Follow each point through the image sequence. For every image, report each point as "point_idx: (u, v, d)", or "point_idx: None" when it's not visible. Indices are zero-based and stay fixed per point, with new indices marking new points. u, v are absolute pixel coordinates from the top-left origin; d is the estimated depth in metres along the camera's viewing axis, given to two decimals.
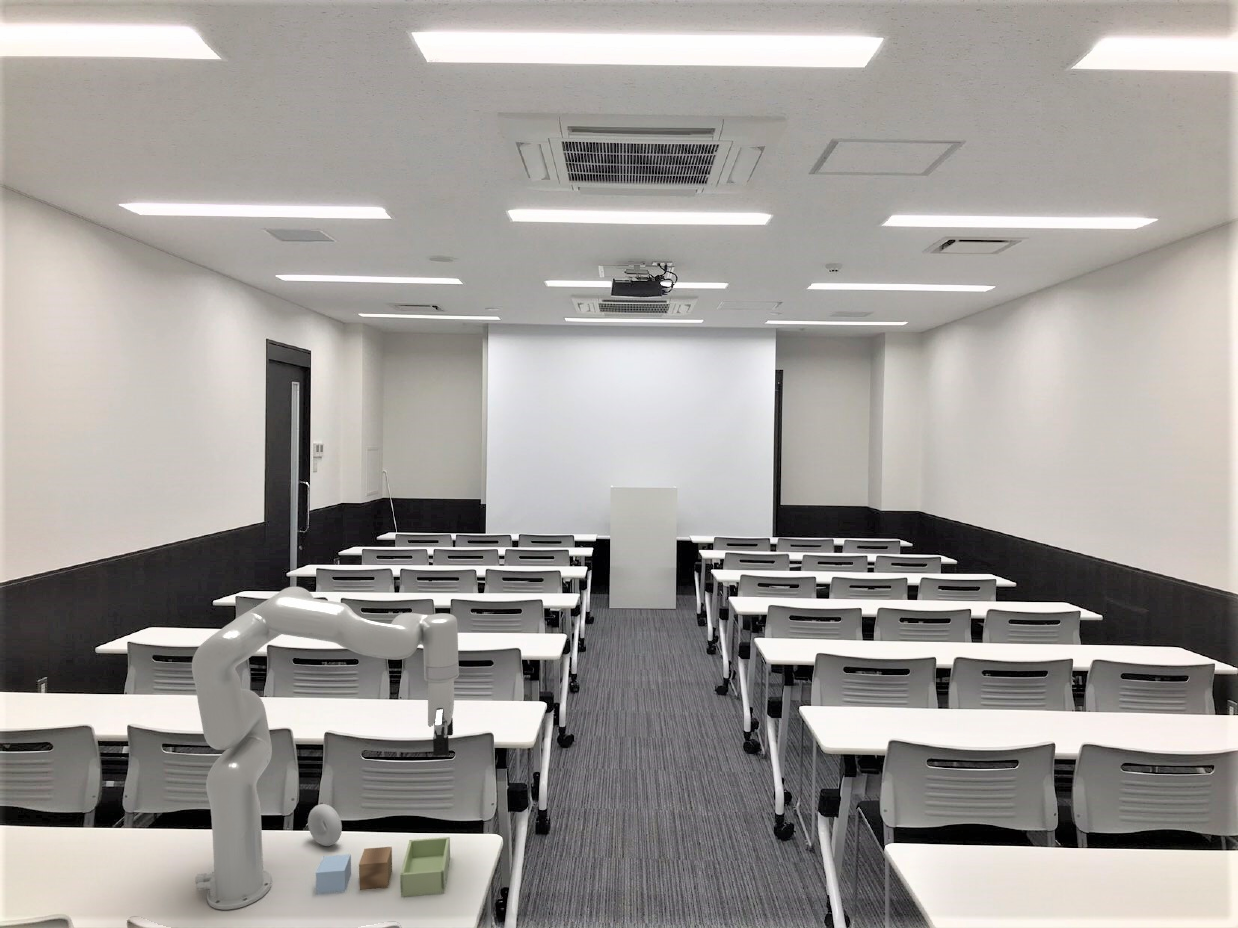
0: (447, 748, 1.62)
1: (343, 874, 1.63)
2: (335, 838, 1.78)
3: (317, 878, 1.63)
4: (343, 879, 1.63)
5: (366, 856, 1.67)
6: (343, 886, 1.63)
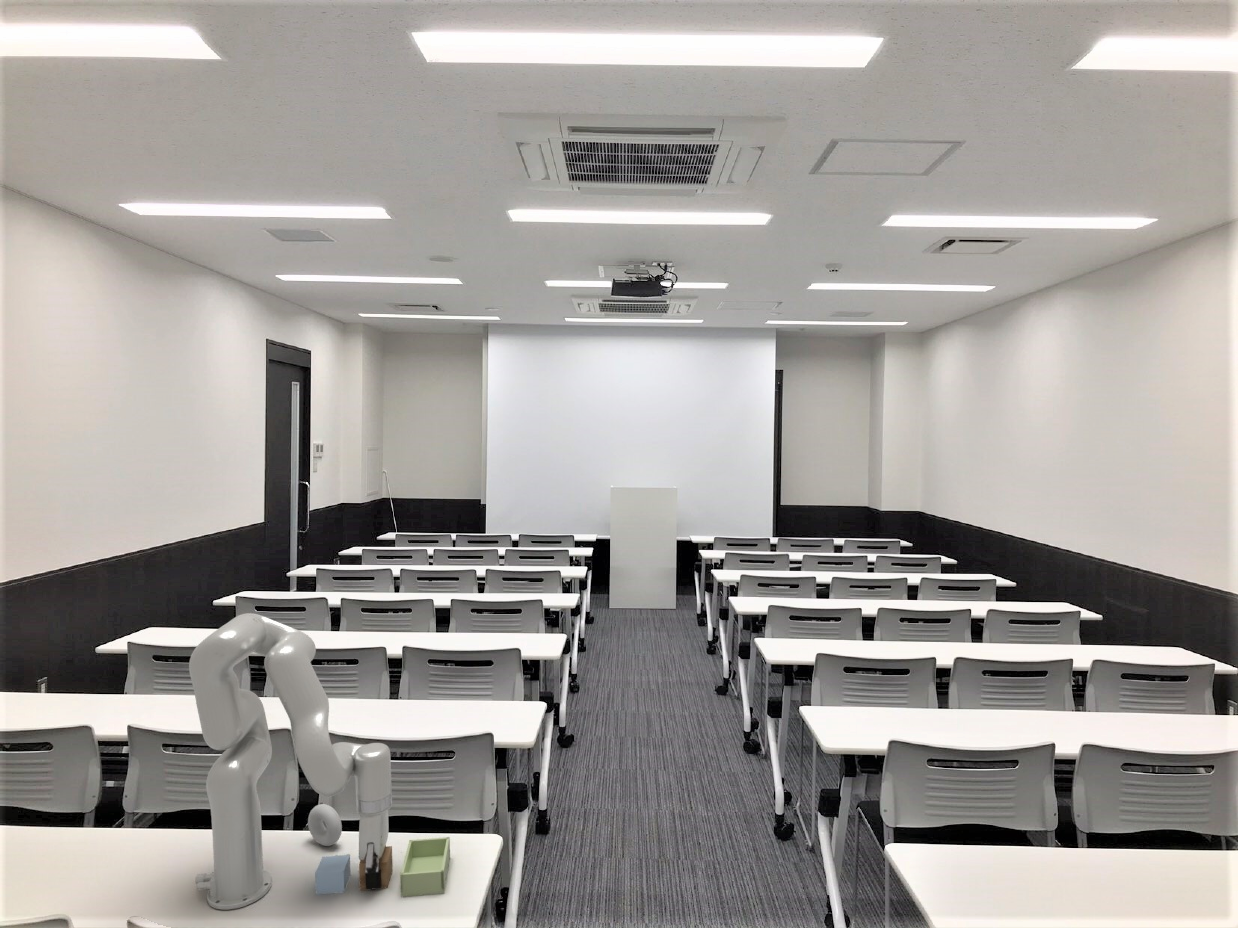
0: (379, 881, 1.64)
1: (342, 874, 1.63)
2: (335, 838, 1.78)
3: (316, 878, 1.62)
4: (342, 879, 1.63)
5: None
6: (342, 886, 1.63)
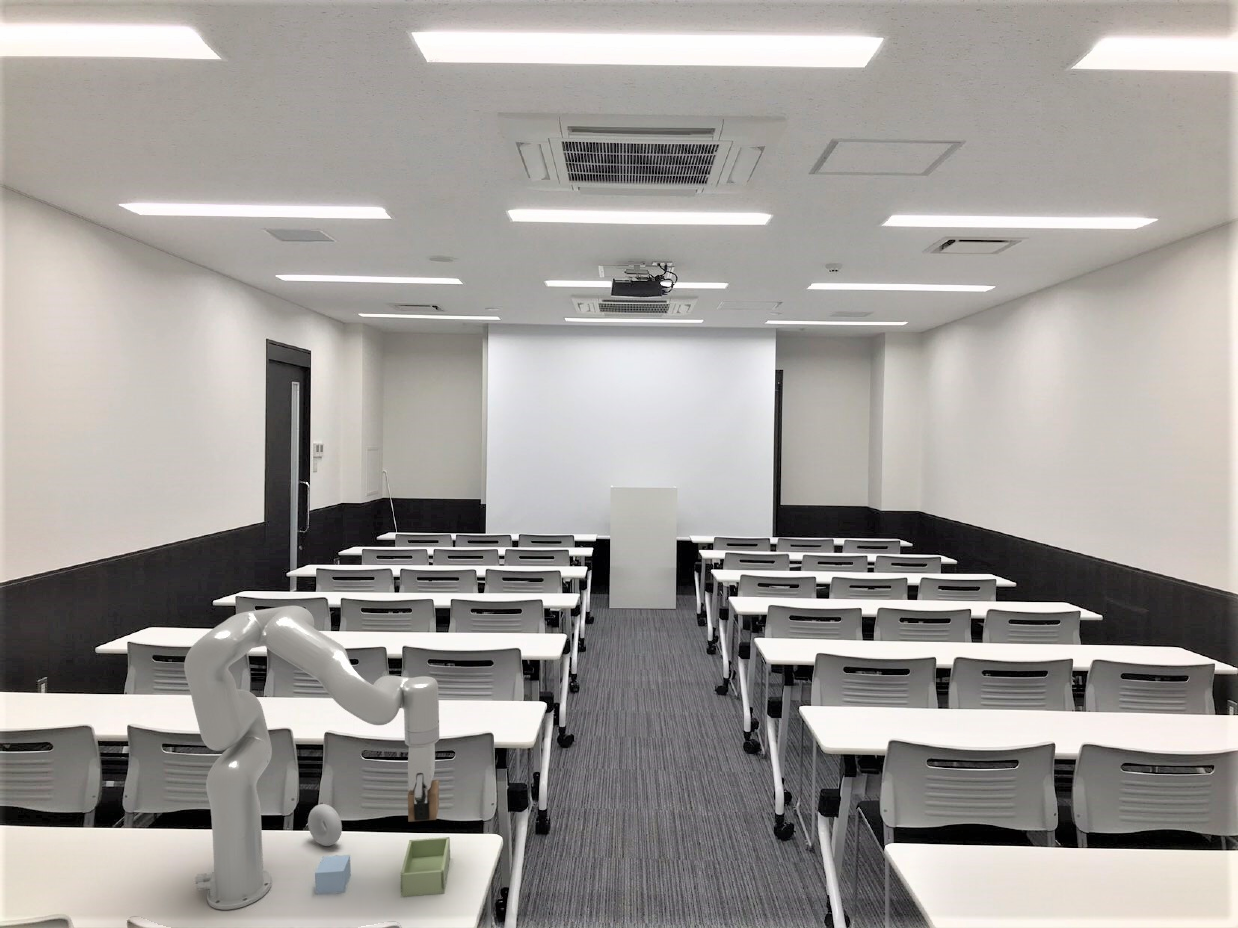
0: (428, 813, 1.64)
1: (342, 875, 1.63)
2: (335, 838, 1.78)
3: (316, 878, 1.62)
4: (342, 880, 1.63)
5: (414, 788, 1.67)
6: (342, 887, 1.63)
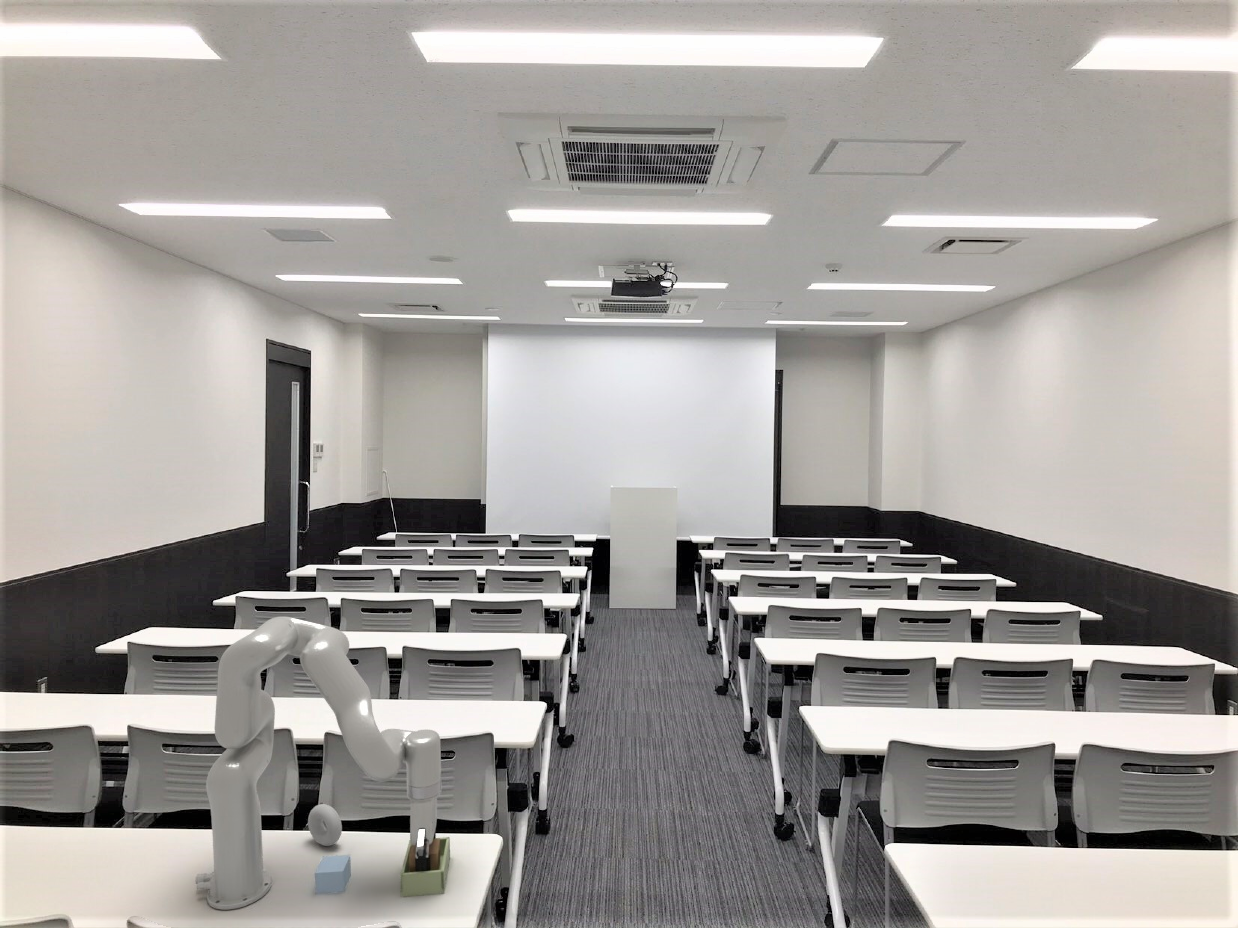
0: (429, 867, 1.64)
1: (342, 875, 1.63)
2: (335, 837, 1.78)
3: (316, 878, 1.63)
4: (342, 880, 1.63)
5: (415, 847, 1.68)
6: (342, 887, 1.63)
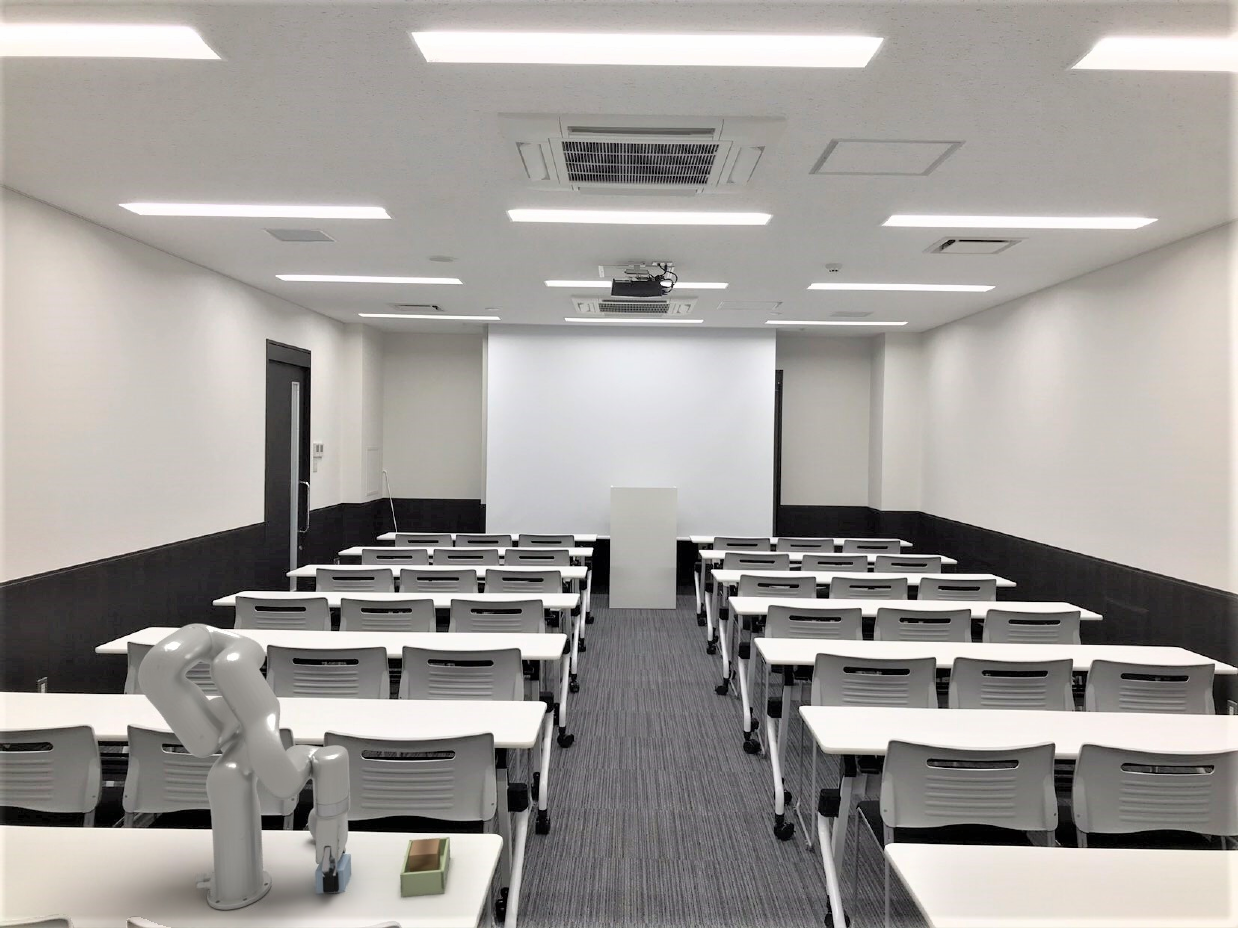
0: (337, 885, 1.63)
1: (342, 874, 1.63)
2: None
3: (316, 877, 1.63)
4: (342, 879, 1.63)
5: (415, 847, 1.68)
6: (342, 886, 1.63)
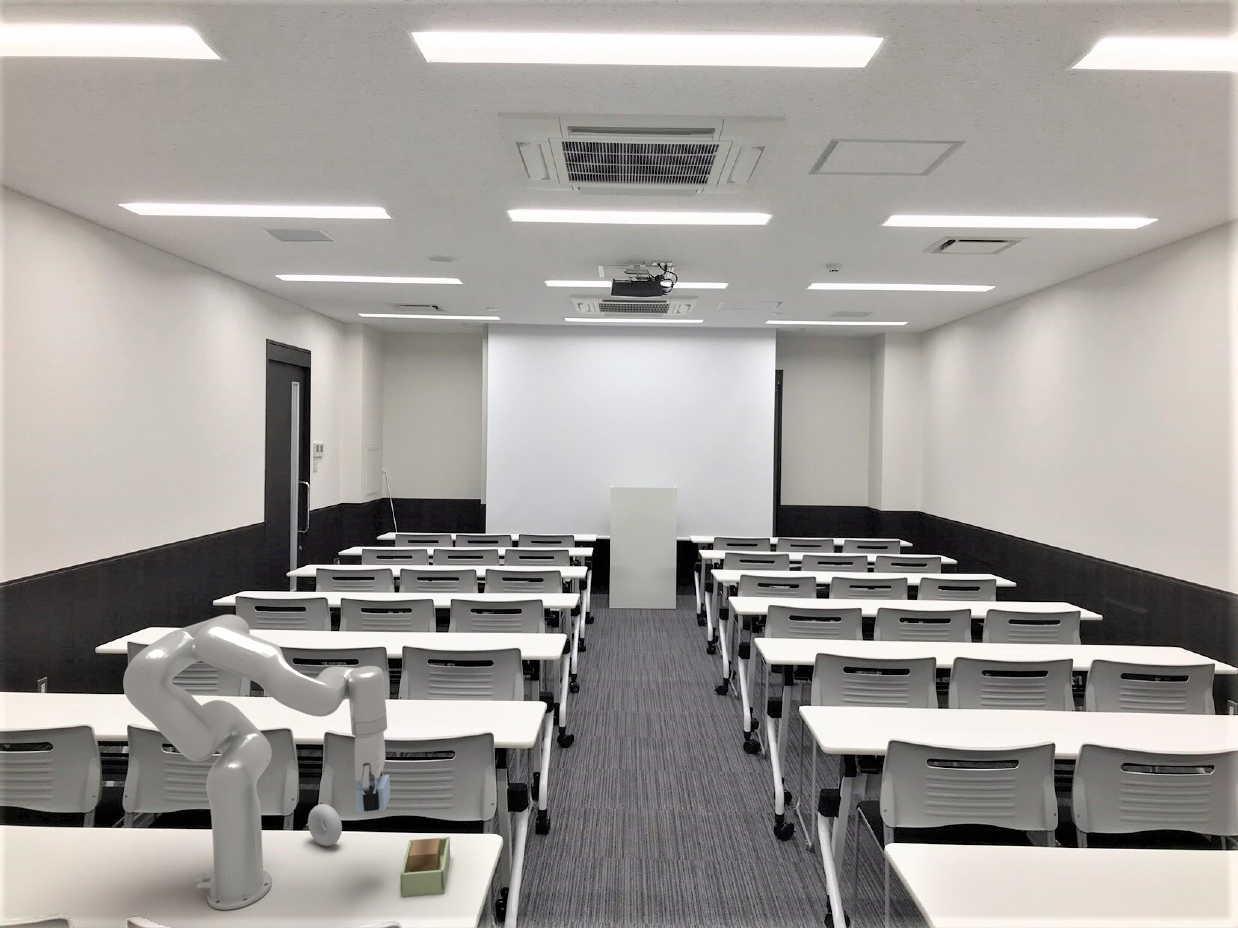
0: (377, 803, 1.63)
1: (382, 792, 1.63)
2: (335, 837, 1.78)
3: (356, 796, 1.63)
4: (382, 797, 1.63)
5: (415, 847, 1.68)
6: (382, 804, 1.63)
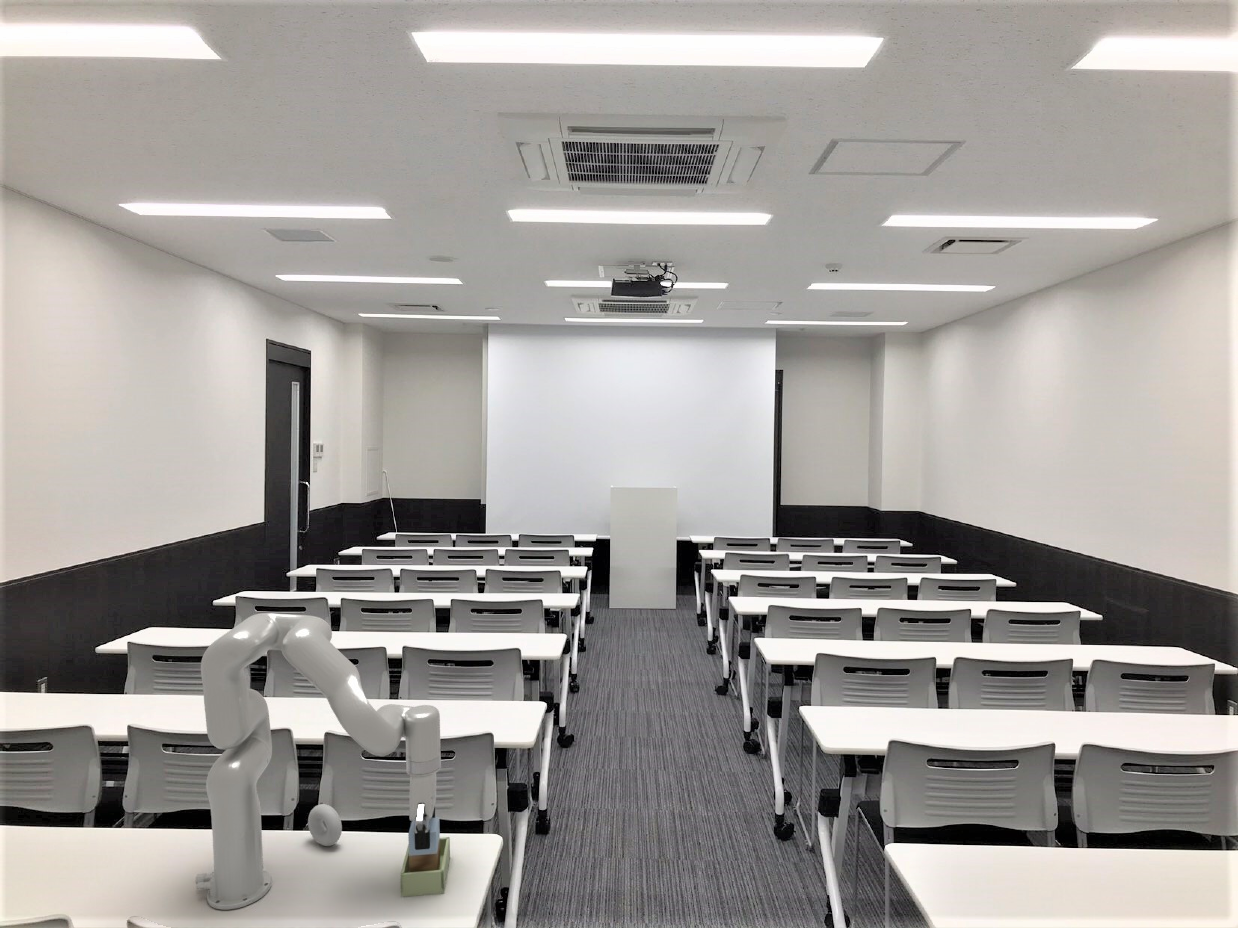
0: (428, 842, 1.63)
1: (435, 836, 1.65)
2: (335, 838, 1.78)
3: (409, 839, 1.65)
4: (435, 841, 1.65)
5: None
6: (435, 847, 1.65)
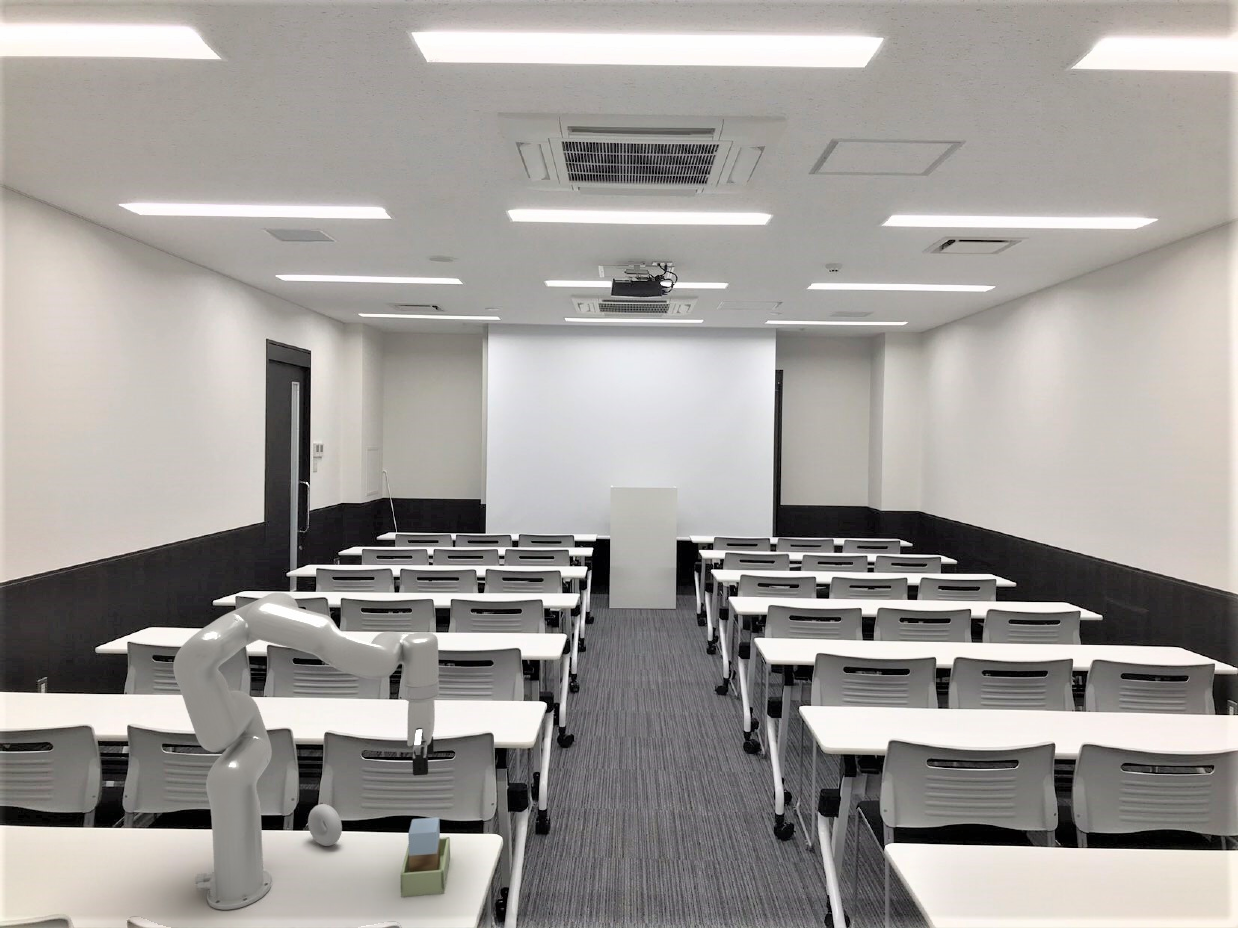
0: (426, 768, 1.62)
1: (435, 836, 1.65)
2: (335, 837, 1.78)
3: (409, 839, 1.65)
4: (435, 841, 1.65)
5: None
6: (435, 847, 1.65)
